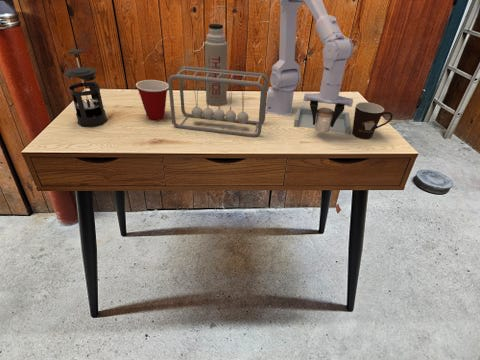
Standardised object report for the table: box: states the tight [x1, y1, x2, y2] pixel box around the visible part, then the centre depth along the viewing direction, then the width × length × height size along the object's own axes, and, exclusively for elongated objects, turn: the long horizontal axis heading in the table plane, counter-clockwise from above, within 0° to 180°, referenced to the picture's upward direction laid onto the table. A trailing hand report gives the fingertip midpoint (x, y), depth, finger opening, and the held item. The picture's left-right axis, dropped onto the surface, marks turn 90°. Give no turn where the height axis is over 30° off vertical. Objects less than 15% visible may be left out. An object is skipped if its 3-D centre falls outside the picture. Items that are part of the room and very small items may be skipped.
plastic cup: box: [135, 79, 169, 122], centre depth 109 cm, size 11×11×12 cm
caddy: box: [293, 106, 351, 135], centre depth 112 cm, size 18×13×3 cm
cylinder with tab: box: [314, 107, 334, 134], centre depth 101 cm, size 5×7×6 cm
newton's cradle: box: [167, 65, 269, 138], centre depth 104 cm, size 30×10×18 cm, turn 79°
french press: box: [64, 49, 108, 128], centre depth 102 cm, size 12×9×23 cm
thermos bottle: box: [204, 23, 228, 107], centre depth 118 cm, size 8×8×28 cm
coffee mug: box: [351, 101, 393, 140], centre depth 103 cm, size 12×9×10 cm
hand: (322, 124), depth 102 cm, fingers closed on cylinder with tab, 5 cm apart
